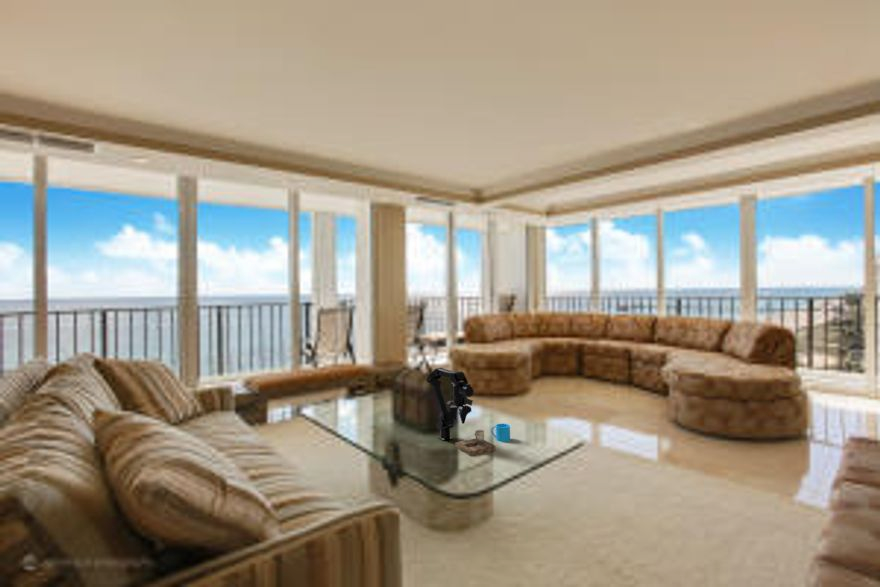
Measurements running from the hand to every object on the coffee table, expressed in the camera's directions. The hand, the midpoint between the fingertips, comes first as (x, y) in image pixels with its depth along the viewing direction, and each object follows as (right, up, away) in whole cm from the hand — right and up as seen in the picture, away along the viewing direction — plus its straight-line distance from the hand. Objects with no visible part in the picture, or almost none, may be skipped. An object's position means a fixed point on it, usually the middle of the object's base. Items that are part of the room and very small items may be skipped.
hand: (459, 421), depth 235 cm
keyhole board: (+8, -13, -7) cm, 17 cm away
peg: (+11, -13, -6) cm, 18 cm away
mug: (+24, -13, +7) cm, 29 cm away
